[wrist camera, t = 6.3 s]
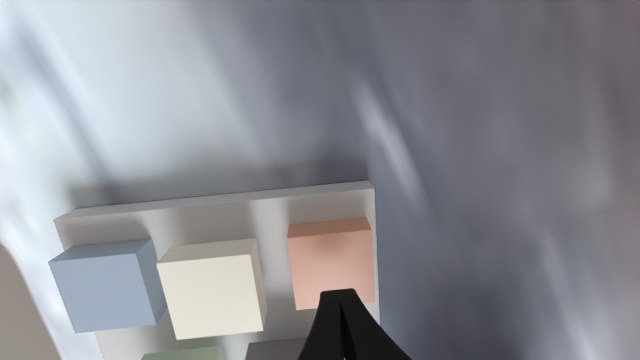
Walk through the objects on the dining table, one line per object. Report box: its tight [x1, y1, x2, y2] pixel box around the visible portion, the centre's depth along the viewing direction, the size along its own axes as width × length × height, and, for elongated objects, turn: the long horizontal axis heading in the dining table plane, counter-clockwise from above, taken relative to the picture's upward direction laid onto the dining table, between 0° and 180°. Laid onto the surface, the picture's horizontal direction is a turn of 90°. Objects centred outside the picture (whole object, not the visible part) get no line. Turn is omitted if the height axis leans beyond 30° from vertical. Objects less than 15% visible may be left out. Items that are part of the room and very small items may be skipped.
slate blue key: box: [48, 238, 168, 333], centre depth 15 cm, size 4×4×2 cm
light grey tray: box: [54, 180, 380, 360], centre depth 18 cm, size 16×13×2 cm
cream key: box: [156, 238, 267, 340], centre depth 14 cm, size 4×4×2 cm
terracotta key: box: [287, 217, 375, 310], centre depth 15 cm, size 4×4×2 cm
